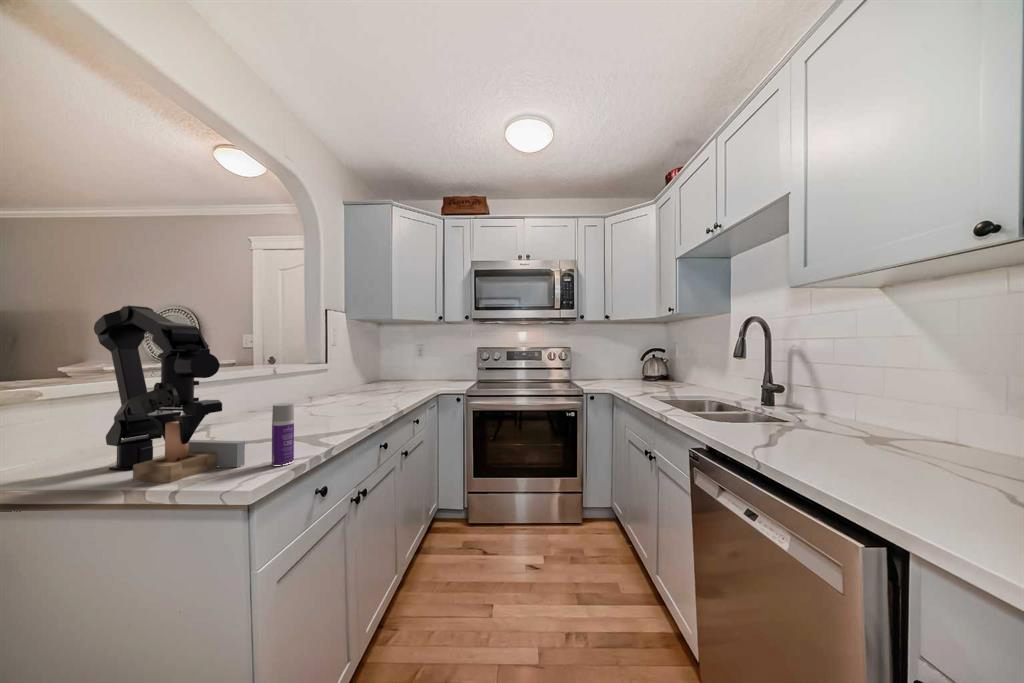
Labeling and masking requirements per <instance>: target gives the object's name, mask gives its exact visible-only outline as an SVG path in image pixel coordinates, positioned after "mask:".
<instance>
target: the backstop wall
mask: <svg viewBox="0 0 1024 683" xmlns="http://www.w3.org/2000/svg"><path fill="white" fill-rule="evenodd" d="M245 444H246V442H245V441H244V440H219V439H218V440H215V439H212V440H211V439H205V440H204V439H190V440H189V443H188V452H198V453H216V466H219V467H218V468H228V467H238V468H240V467H239V466H241V465H244V464H245V460H246V459H245V456H246V455H245V450H246V445H245ZM244 466H245V465H244ZM241 467H242V466H241Z"/></svg>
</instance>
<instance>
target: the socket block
mask: <svg viewBox="0 0 1024 683" xmlns="http://www.w3.org/2000/svg"><path fill="white" fill-rule="evenodd" d="M214 467H216V453H198V452H188V455H187V456H184V457H180V458H174V459H165V456H162V457H161V456H160V457H158V458H153V460H150V461H146V462H142V463H138V464H134V465H133V469H132V481H133V480H137V481H136V482H152V483H153V482H155V483H174V482H176V480H177V481H180V480H182V479H181V478H183V479H184V478H185V477H186V478H188V476H189V477H192V476H194V474H195V475H197V473H198V474H201V473H203V471H204V472H206V470H207V471H209V469H210V470H212V469H211V468H213V469H215V468H214ZM216 468H217V467H216ZM200 472H201V473H200ZM191 475H192V476H191ZM186 478H185V479H186ZM179 479H180V480H179Z"/></svg>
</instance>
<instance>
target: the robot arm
mask: <svg viewBox="0 0 1024 683" xmlns="http://www.w3.org/2000/svg"><path fill="white" fill-rule="evenodd" d="M93 331H94V334H95V335H96V337H97V339H98V342H99V344H100V345H101V346H102V347H104V348H105V349H106V350H108V351H109V352H110V353H111V357H112V358H111V359H112V364H113V368H114V373H115V374H114V375H115V379H116V384H117V389H118V394H119V398H120V404H121V406H120V407H119V409H118V410H117V412H116V413H115V414H114V417H113V420H114V421H113V423H112V425H111V427H110V429H109V431H108V432H107V433H106V435H105V443H106V445H107V446H111V447H116V465H112V466H109V467H108V470H114V471H116V470H119V471H121V470H122V471H131V470H132V471H133V465H134V464H138V463H142V462H146V461H150V460H153V459H154V445H153V444H154V442H153V440H157V439H162V438H163V441H165V424H166V423H169V422H175V421H178V422H179V423H180V437H181V443H182V444H187V443H188V442H189V440H191V438H193V437H192V436H193V435H194V433H195V432H196V430H197V429H198V427H199V426H200V424H201V422H202V421H203V420H204V418H205V417H206V416H208V415H210V414H212V413H213V414H214V413H220V412H223V402H222V401H221V400H219V399H202V400H201V399H200V398H199V397H195V386H200V380H195V379H207V378H211V377H213V376H215V375H216V374H217V373H218V371H219V369H220V365H221V363H220V362H219V360H218V358H217V357H216V356H215V355H214V354H212V353H211V349H210V348H209V347H210V346H209V344H208V342H206V340H205V338H204V336H203V334H202V332H201V331H200V329H199V328H198V326H196V325H191V324H187V323H179V322H175V321H173V320H171V319H169V318H167V317H165V316H163V315H161V314H160V313H157V312H156V311H154V309H153V308H151V307H148V306H140V305H138V306H137V305H124V306H122V307H121V308H120V309H118V310H114V311H112V312H108V313H105V314H103V315H101V317H100V318H99V319H97V321H96V322H95V323H94V325H93ZM147 333H148V334H151V335H152V342H153V343H154V344H155V345H156V346H157V347H159V348H160V350H161V351H162V352H160V353H159V354H158V355H157V358H158V359H161V360H160V361H161V364H160V382H155V384H154V385H153V389H152V390H150V391H148V387H147V384H146V379H145V374H144V370H143V365H142V360H141V355H140V351H139V350H140V349H139V347H140V346H141V344H142V342H143V341H144V339H145V335H146V334H147ZM199 399H200V400H199Z"/></svg>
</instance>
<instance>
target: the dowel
mask: <svg viewBox="0 0 1024 683" xmlns="http://www.w3.org/2000/svg"><path fill="white" fill-rule="evenodd" d="M188 443H189V442H188ZM188 443H187V444H182V443H181V437H180V423H179V422H178V421H175V422H169V423H166V424H165V440H164V457H165V459H174V458H180V457H184V456H187V455H188Z"/></svg>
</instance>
